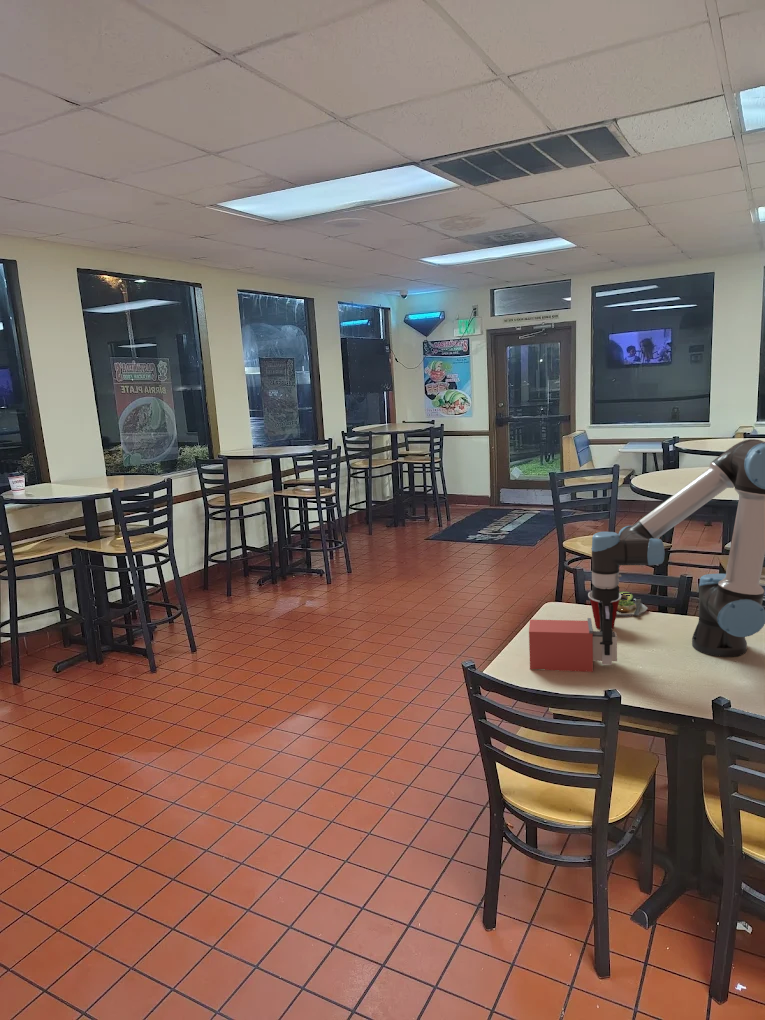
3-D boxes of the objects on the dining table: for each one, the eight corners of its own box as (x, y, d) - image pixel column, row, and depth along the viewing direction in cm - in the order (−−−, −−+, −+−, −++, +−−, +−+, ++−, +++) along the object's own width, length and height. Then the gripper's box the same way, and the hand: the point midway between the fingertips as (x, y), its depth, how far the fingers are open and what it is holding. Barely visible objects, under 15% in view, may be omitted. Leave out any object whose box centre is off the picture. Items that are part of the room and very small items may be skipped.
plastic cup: (588, 632, 226) (587, 598, 223) (588, 621, 236) (587, 588, 233) (622, 634, 222) (622, 599, 220) (620, 622, 233) (620, 589, 230)
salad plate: (660, 617, 235) (660, 605, 234) (610, 622, 234) (610, 609, 234) (636, 600, 254) (636, 588, 253) (589, 604, 253) (589, 592, 253)
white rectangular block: (553, 659, 202) (553, 634, 201) (553, 655, 205) (553, 630, 204) (617, 661, 198) (617, 635, 197) (616, 657, 201) (616, 631, 199)
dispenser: (530, 669, 201) (528, 629, 199) (530, 655, 211) (529, 616, 209) (593, 672, 197) (592, 630, 194) (591, 657, 207) (590, 618, 204)
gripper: (622, 595, 186) (622, 673, 190) (616, 575, 204) (616, 647, 208) (594, 595, 188) (594, 672, 192) (590, 575, 206) (591, 646, 210)
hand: (605, 659), depth 200 cm, fingers open, 6 cm apart
